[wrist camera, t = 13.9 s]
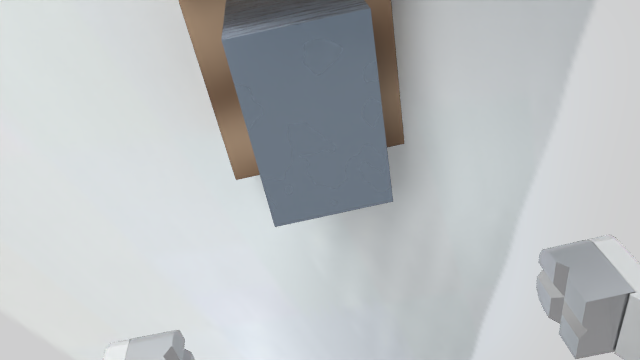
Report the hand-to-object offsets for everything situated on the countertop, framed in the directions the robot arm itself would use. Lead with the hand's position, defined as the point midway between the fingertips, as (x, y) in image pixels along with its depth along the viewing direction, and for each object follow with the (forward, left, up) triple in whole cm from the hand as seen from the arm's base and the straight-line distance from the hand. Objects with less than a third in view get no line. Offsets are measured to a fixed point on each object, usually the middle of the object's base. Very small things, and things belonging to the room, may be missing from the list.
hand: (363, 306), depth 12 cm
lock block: (0, 0, -15) cm, 15 cm away
